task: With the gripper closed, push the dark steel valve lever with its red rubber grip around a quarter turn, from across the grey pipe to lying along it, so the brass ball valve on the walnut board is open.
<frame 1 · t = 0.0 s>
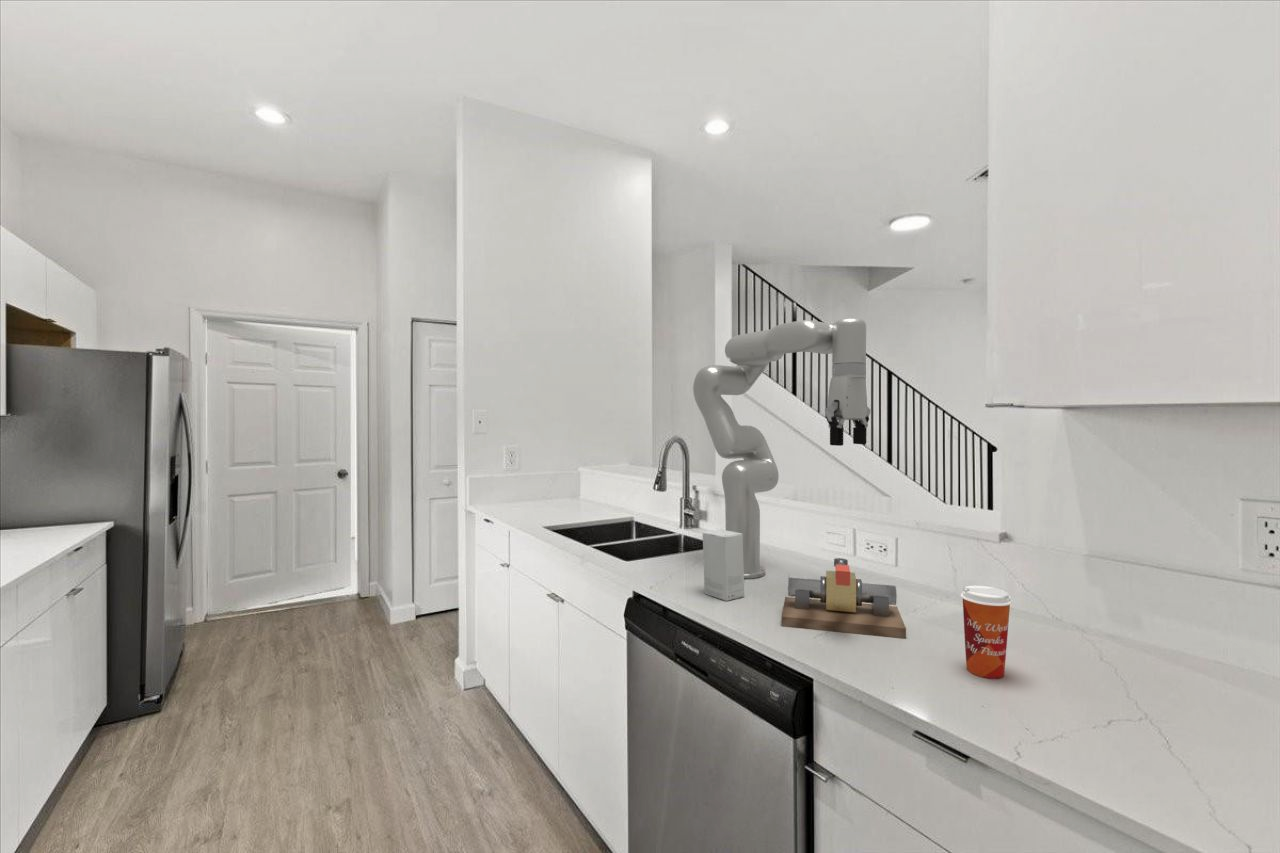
hand: (848, 444, 139), 37 cm above the worktop, tool pointing down, fingers open, 9 cm apart
valve lever: (841, 569, 123), point 12 cm above the worktop, hinge at 0.0°
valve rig: (840, 618, 129), on the worktop
paper cup: (985, 672, 102), on the worktop
skincare box: (723, 596, 145), on the worktop
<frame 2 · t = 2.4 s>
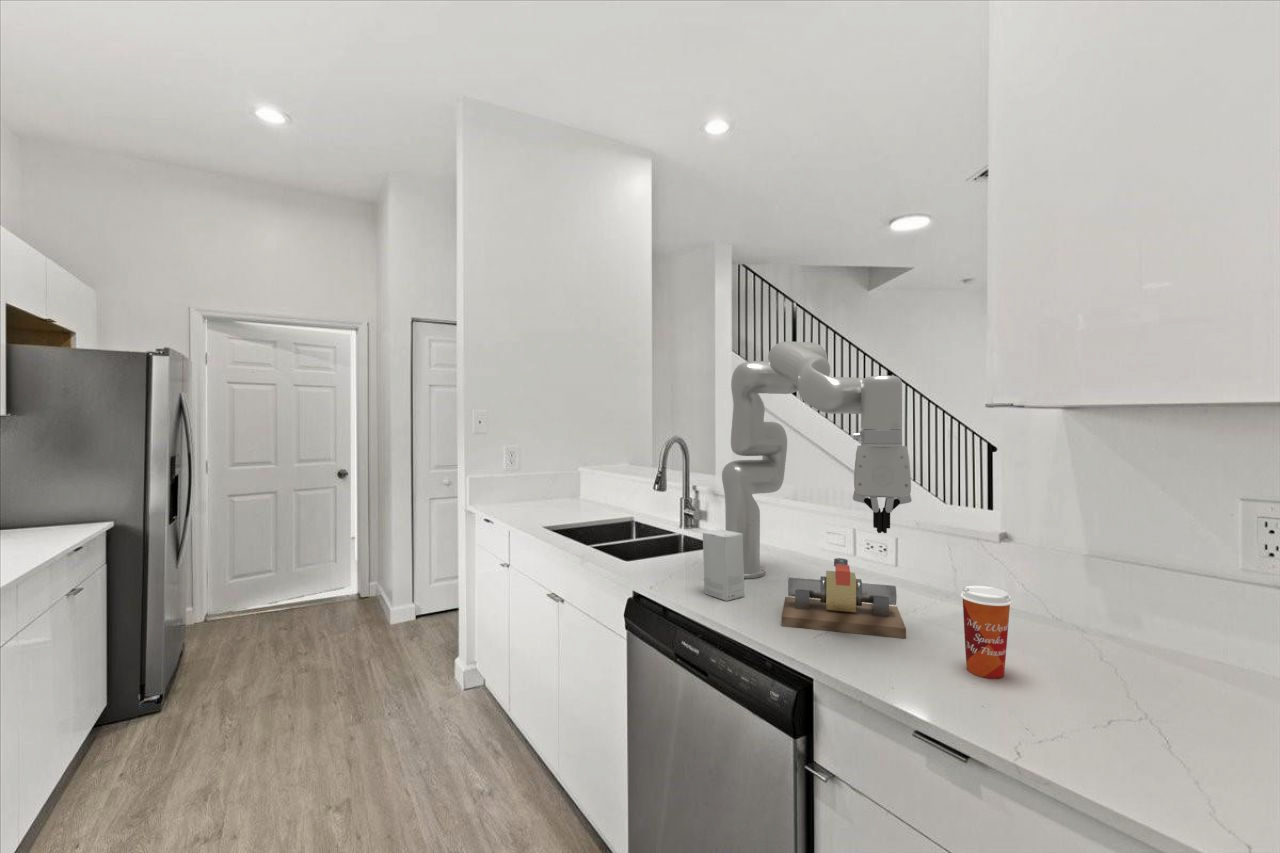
hand: (881, 531, 116), 21 cm above the worktop, tool pointing down, fingers closed
nothing on the worktop moved.
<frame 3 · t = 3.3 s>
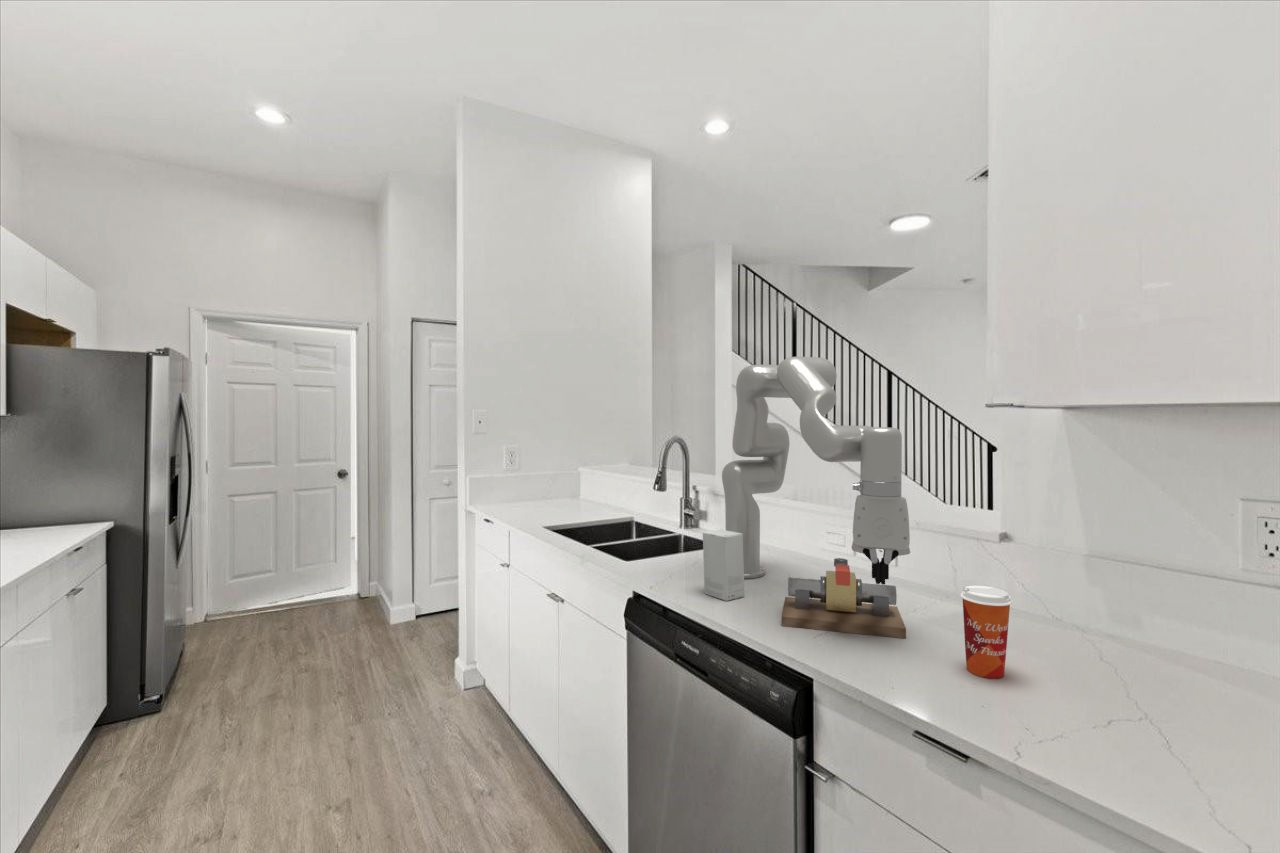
hand: (880, 582, 117), 11 cm above the worktop, tool pointing down, fingers closed
nothing on the worktop moved.
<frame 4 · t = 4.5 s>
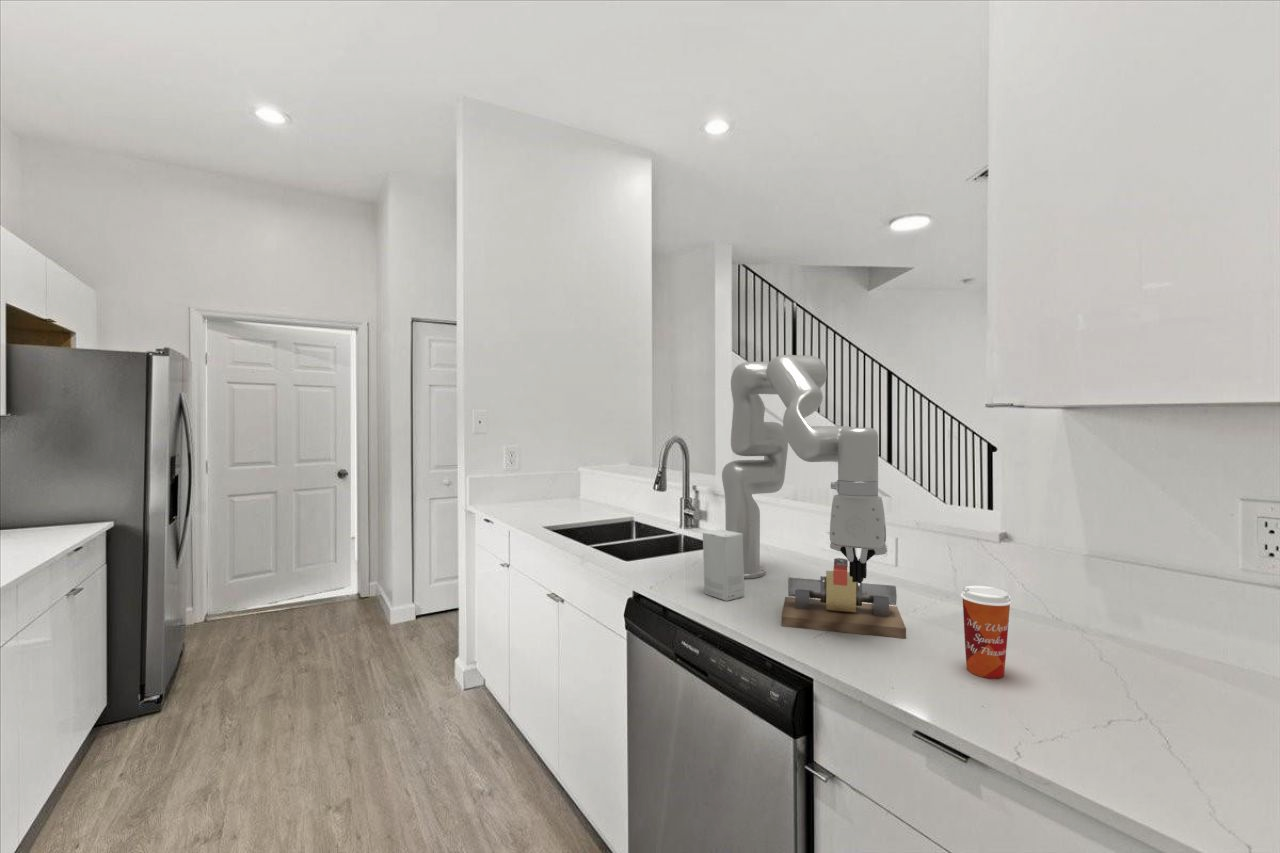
hand: (858, 580, 118), 11 cm above the worktop, tool pointing down, fingers closed
valve lever: (840, 569, 123), point 12 cm above the worktop, hinge at 2.5°, touching gripper
everything else where it was.
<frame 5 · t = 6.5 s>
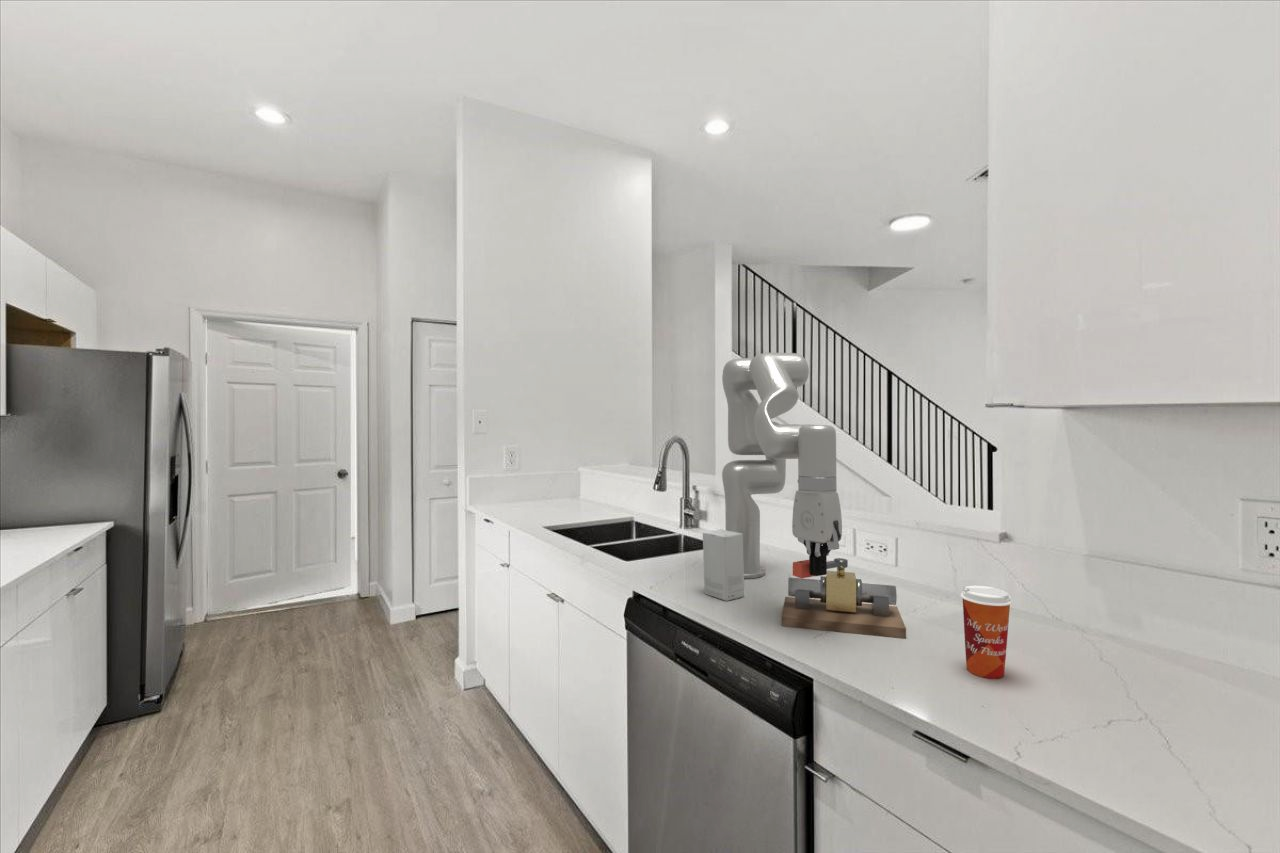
hand: (818, 574, 121), 12 cm above the worktop, tool pointing down, fingers closed
valve lever: (821, 566, 126), point 12 cm above the worktop, hinge at 45.1°, touching gripper
everything else where it was.
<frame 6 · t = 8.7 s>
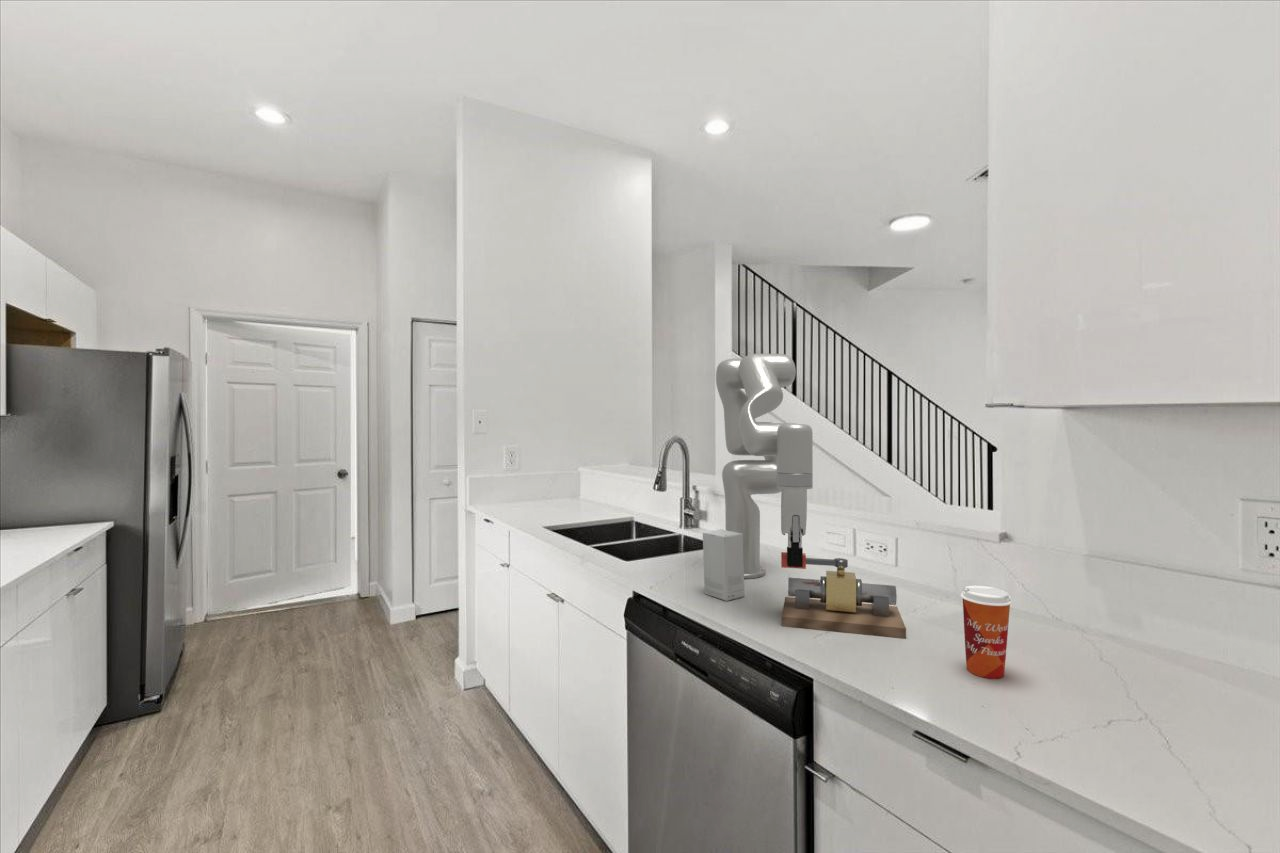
hand: (794, 565, 128), 12 cm above the worktop, tool pointing down, fingers closed
valve lever: (814, 561, 130), point 12 cm above the worktop, hinge at 86.6°, touching gripper
everything else where it was.
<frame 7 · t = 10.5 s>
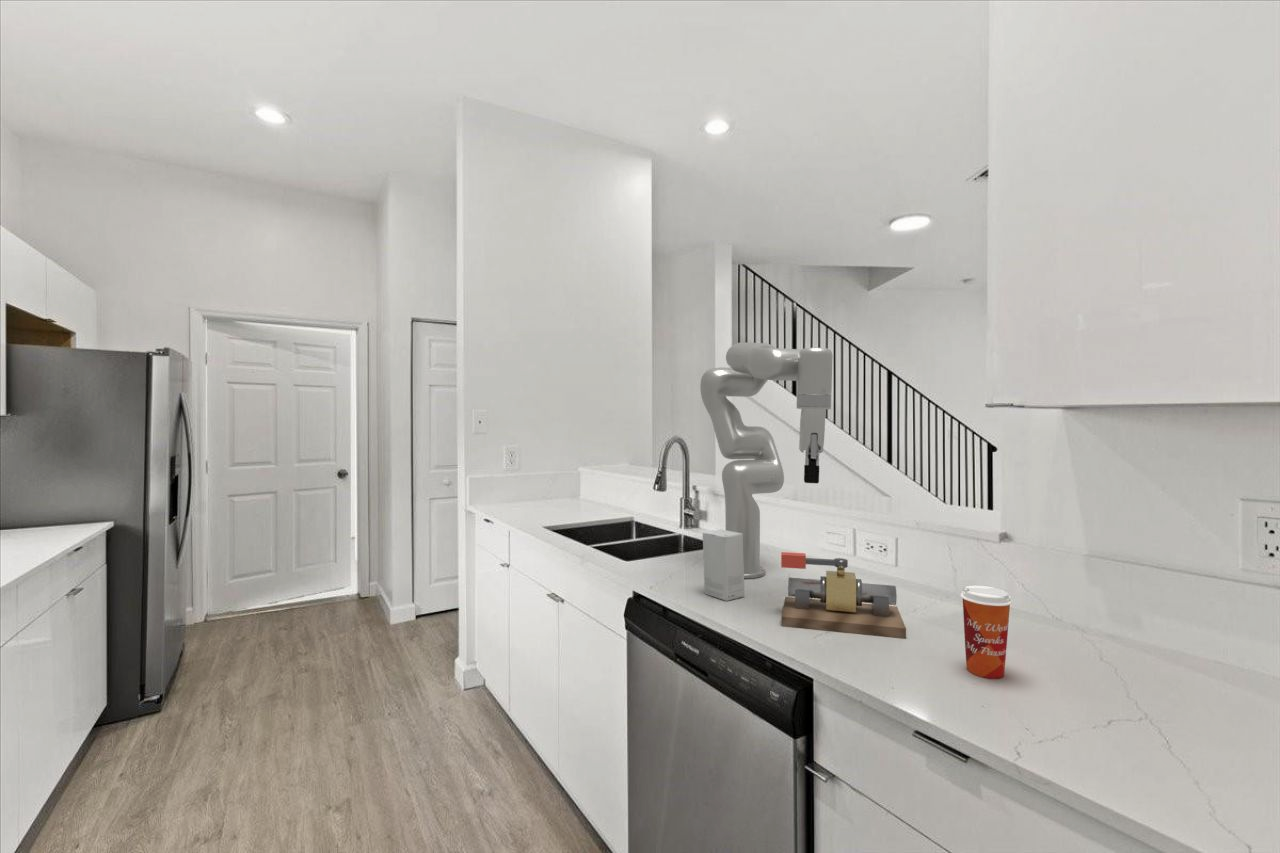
hand: (811, 482, 135), 29 cm above the worktop, tool pointing down, fingers closed
valve lever: (814, 561, 130), point 12 cm above the worktop, hinge at 86.7°
everything else where it was.
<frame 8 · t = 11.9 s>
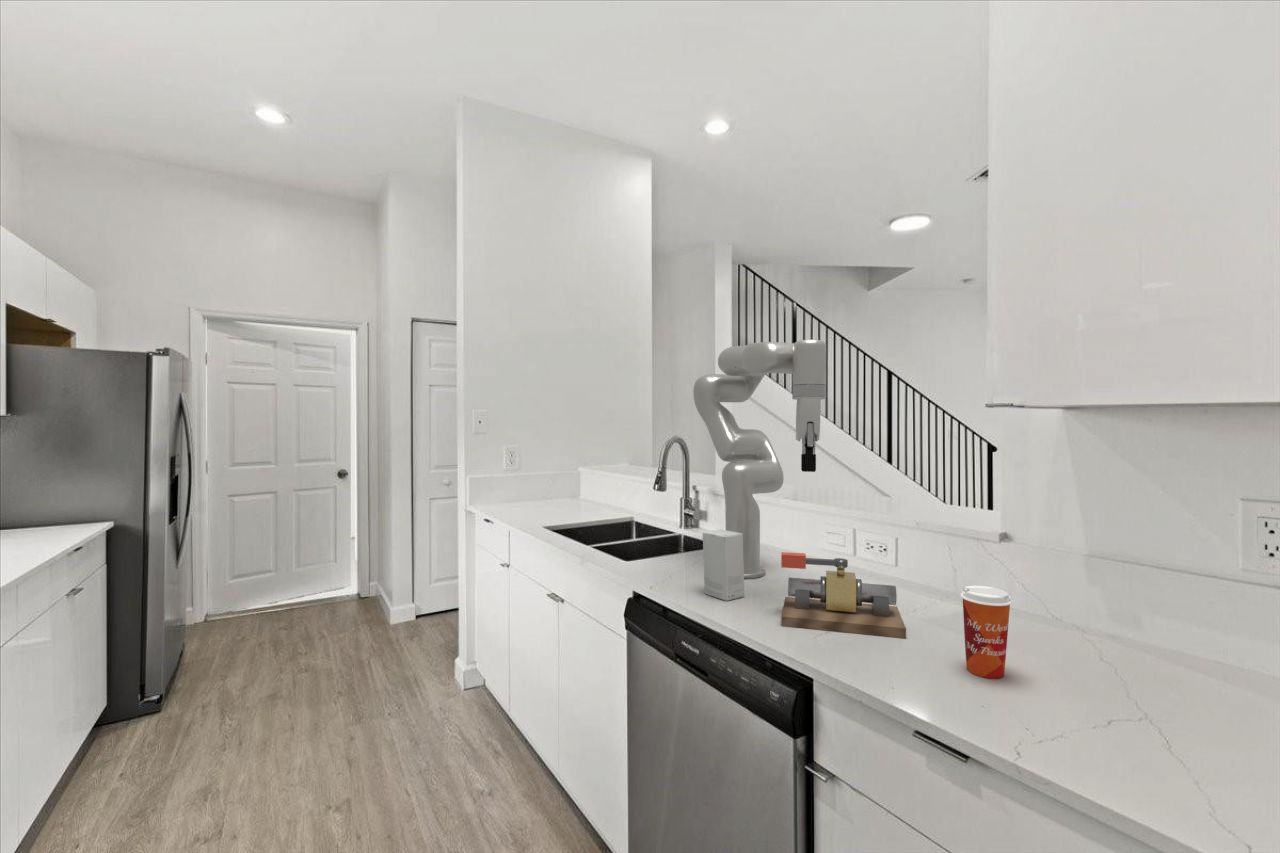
hand: (808, 471, 139), 31 cm above the worktop, tool pointing down, fingers closed
nothing on the worktop moved.
at the end: valve lever at +87° (first picture: +0°) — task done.
